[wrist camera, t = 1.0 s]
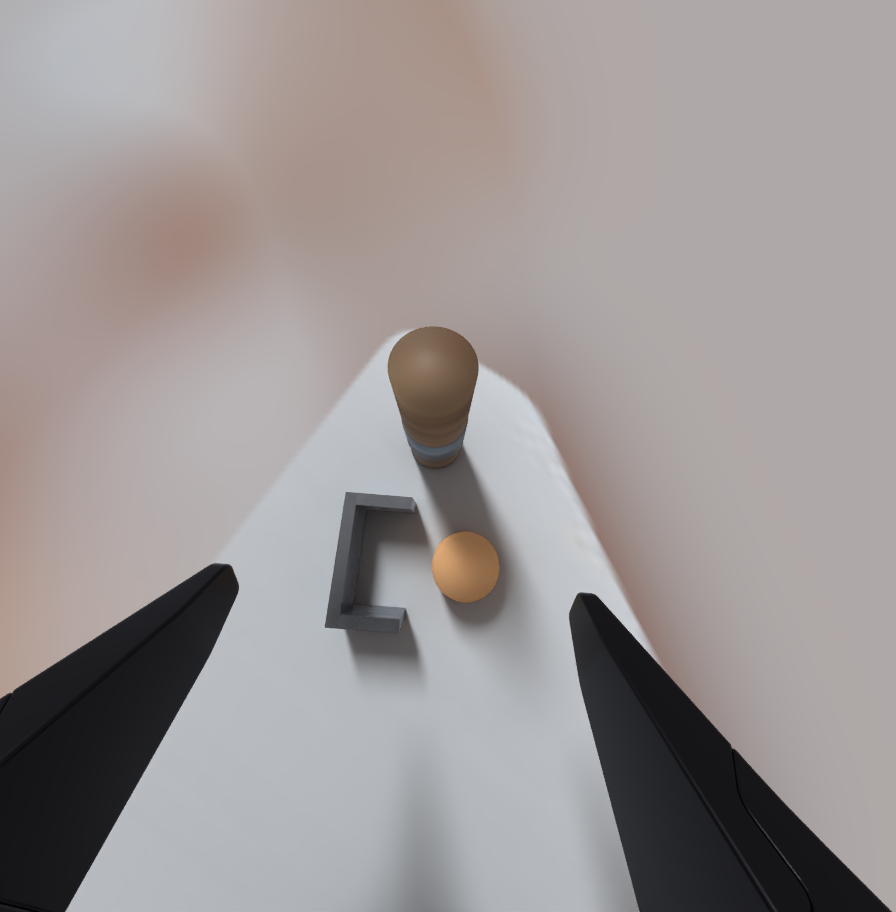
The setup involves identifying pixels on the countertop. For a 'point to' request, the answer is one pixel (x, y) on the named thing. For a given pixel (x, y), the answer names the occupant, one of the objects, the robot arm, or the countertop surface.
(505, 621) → the countertop surface
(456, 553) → the tan rounded block
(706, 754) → the robot arm
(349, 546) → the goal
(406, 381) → the ball
